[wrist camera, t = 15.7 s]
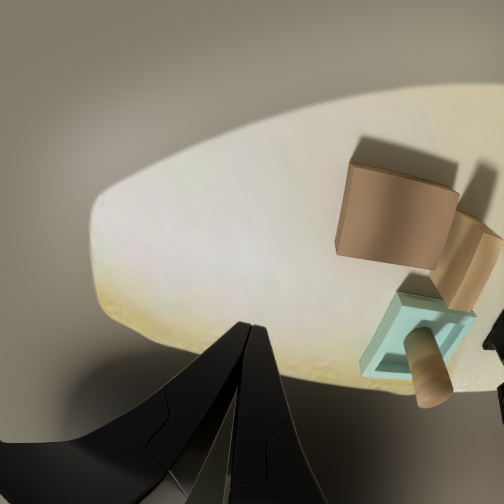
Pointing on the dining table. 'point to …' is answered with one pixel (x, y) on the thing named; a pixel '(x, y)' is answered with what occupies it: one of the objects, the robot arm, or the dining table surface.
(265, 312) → the dining table surface
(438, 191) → the walnut board
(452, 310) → the tray
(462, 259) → the block
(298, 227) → the dining table surface
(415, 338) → the oak dowel
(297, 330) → the dining table surface
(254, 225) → the dining table surface
